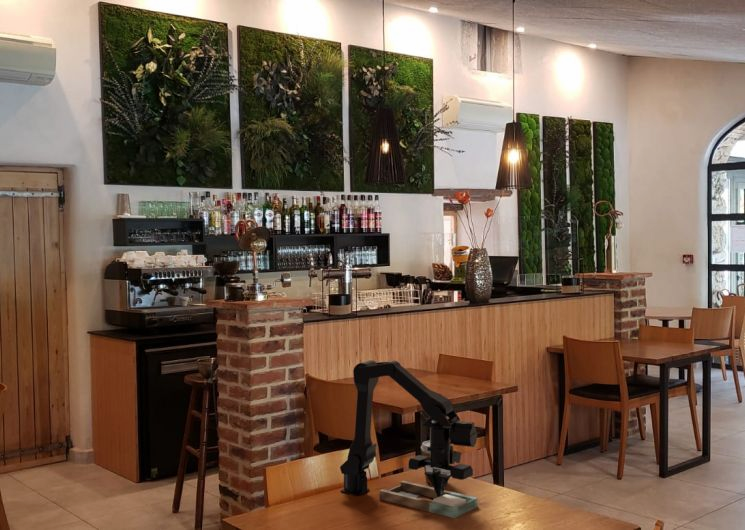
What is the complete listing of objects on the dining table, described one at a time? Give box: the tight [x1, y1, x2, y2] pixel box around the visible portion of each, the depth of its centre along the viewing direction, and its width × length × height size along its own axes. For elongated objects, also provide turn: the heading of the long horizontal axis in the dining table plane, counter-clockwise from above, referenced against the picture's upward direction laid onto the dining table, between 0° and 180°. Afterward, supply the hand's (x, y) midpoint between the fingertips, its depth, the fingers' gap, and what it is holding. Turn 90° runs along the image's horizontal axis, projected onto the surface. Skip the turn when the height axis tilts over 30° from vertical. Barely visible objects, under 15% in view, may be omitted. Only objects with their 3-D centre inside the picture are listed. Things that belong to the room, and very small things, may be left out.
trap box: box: [379, 480, 479, 519], centre depth 236 cm, size 26×12×2 cm, turn 52°
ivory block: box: [432, 494, 466, 507], centre depth 230 cm, size 7×6×4 cm
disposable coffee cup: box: [420, 440, 443, 485], centre depth 255 cm, size 10×10×12 cm
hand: (439, 496), depth 233 cm, fingers closed
